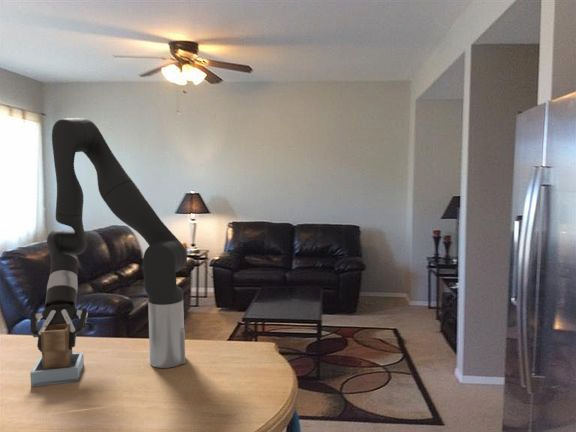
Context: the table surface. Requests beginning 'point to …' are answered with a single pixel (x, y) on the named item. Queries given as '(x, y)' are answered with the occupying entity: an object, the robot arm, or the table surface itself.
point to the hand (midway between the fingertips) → (56, 349)
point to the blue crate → (57, 372)
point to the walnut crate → (56, 347)
